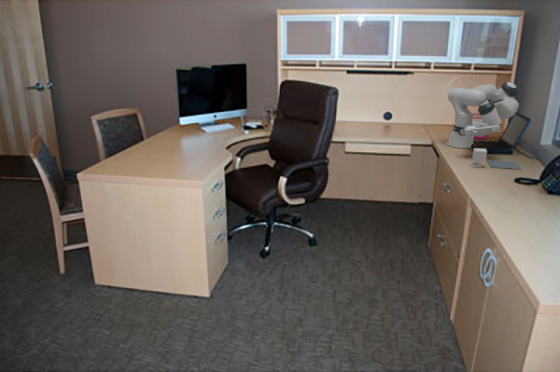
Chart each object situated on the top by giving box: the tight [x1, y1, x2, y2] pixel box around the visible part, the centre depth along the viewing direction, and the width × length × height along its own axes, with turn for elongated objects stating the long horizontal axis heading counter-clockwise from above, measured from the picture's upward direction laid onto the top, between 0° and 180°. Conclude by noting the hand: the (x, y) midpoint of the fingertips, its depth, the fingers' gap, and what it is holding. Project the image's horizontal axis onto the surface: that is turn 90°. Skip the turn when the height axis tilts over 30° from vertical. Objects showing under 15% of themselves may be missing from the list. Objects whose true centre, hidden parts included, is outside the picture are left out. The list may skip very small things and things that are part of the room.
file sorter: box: [471, 112, 488, 141], centre depth 339 cm, size 17×25×16 cm
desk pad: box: [486, 159, 522, 171], centre depth 264 cm, size 16×16×1 cm
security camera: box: [469, 147, 488, 168], centre depth 262 cm, size 6×7×10 cm
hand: (484, 131), depth 267 cm, fingers open, 8 cm apart
